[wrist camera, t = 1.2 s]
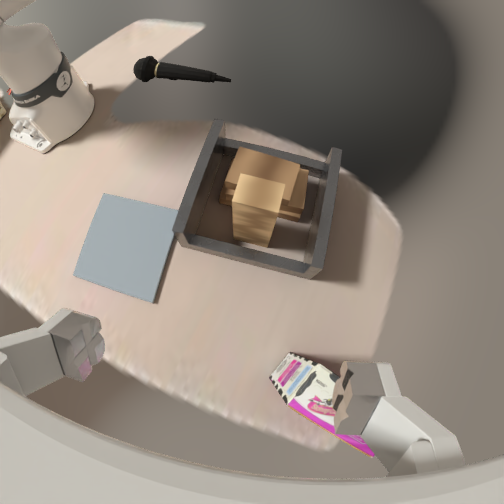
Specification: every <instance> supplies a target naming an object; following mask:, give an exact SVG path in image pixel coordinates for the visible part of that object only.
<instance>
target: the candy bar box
mask: <svg viewBox="0 0 504 504" xmlns="http://www.w3.org/2000/svg"><path fill="white" fill-rule="evenodd" d="M269 378H270V380H271V381H272V383H273V384H274V386H275V387H276V389H277V391H278V392H279V394H280V395H281V397H282V398H283V400H284V401H285V403H286V404H287V406H288V407H290V408H291V409H293V410H294V411H296V412H297V413H299V414H300V415H302V416H303V417H305V418H306V419H308V420H310V421H311V422H313V423H314V424H316V425H318V426H319V427H321V428H322V429H324V430H326V431H327V432H329V433H330V434H332V435H334V436H335V437H337V438H339V439H340V440H342V441H343V442H345V443H347V444H348V445H350V446H352V447H353V448H355V449H357V450H359V451H361V452H362V453H364V454H366V455H367V456H369V457H371V458H373V457H374V455H375V454H374V453H373V452H372V450H371V449H370V448H369V447H368V445H367V444H366V443H365V442H364V440H363V439H362V438H361V435H340V434H335V429H334V416H335V414H336V411H335V410H334V409H333V405H332V396H333V390H334V386H335V383H336V380H338V379H339V378H340V377H339V376H337V375H336V374H334V373H333V372H332V371H330V370H328V369H327V368H326V367H324V366H323V365H321V364H319V363H316V362H314V361H311V360H308V359H306V358H303V357H301V356H298V355H296V354H293V353H291V352H289V353H288V355H287V356H286V357H285V358H284V360H283V361H282V362H281V363H280V365H279V366H278V367H277V368H276V370H275V371H274V372H273V373H272V374H271V376H270V377H269Z"/></svg>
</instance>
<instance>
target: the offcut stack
mask: <svg viewBox="0 0 504 504" xmlns="http://www.w3.org/2000/svg"><path fill="white" fill-rule="evenodd" d="M241 173H242V174H246V175H250V176H254V177H258V178H262V179H266V180H270V181H274V182H278V183H282V184H285V188H284V192H283V196H282V201H281V205H280V209H279V213H278V216H277V217H279V218H283V219H287V220H291V221H295V222H298V221H299V219H300V215H301V213H302V211H303V209H304V203H305V196H306V188H307V181H308V173H309V170H305V169H300V164H297V163H294V162H291V161H288V160H284V159H281V158H278V157H274V156H271V155H268V154H264V153H261V152H257V151H254V150H250V149H247V148H243V147H240V146H239V149H238V151H237V153H236V156H235V158H234V159H232V160H231V163H230V166H229V169H228V172H227V175H226V178H225V181H224V184H223V187H222V190H221V193H220V196H219V203H221V204H225V205H230V206H232V199H233V196H234V193H235V190H236V186H237V183H238V180H239V177H240V174H241Z"/></svg>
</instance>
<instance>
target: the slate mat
mask: <svg viewBox="0 0 504 504" xmlns="http://www.w3.org/2000/svg"><path fill="white" fill-rule="evenodd" d="M177 214H178V210H174V209H170V208H166V207H162V206H157V205H153V204H149V203H145V202H140V201H136V200H132V199H127V198H123V197H119V196H114V195H110V194H105V193H104V194H103V196H102V198H101V201H100V203H99V205H98V208H97V210H96V213H95V215H94V218H93V220H92V223H91V225H90V228H89V231H88V233H87V236H86V239H85V241H84V244H83V247H82V250H81V253H80V256H79V259H78V262H77V265H76V268H75V271H74V274H73V275H74V276H76V277H79V278H81V279H84V280H87V281H90V282H92V283H95V284H98V285H101V286H103V287H106V288H109V289H112V290H115V291H118V292H121V293H124V294H127V295H130V296H133V297H136V298H139V299H142V300H145V301H148V302H151V303H154V300H155V296H156V293H157V290H158V286H159V283H160V280H161V276H162V273H163V270H164V267H165V264H166V260H167V257H168V254H169V251H170V248H171V245H172V242H173V239H174V236H175V235H174V233H173V232H172V228H173V225H174V222H175V219H176V216H177Z"/></svg>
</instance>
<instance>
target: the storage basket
mask: <svg viewBox="0 0 504 504" xmlns="http://www.w3.org/2000/svg"><path fill="white" fill-rule="evenodd" d="M5 113H6V110H5V109H4V107H3V106H2V103H1V101H0V119H1V118H2V117H3V116H4V115H5Z"/></svg>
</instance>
